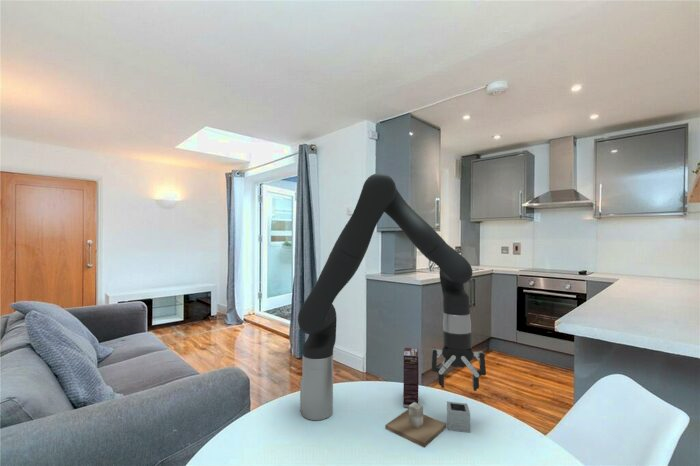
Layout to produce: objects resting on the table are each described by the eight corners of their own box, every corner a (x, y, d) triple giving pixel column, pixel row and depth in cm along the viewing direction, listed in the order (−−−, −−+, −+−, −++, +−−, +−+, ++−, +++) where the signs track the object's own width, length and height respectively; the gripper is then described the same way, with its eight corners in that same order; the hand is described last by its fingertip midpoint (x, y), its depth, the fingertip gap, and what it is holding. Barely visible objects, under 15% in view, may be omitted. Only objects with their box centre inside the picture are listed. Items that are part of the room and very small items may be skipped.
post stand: (385, 428, 87) (385, 406, 87) (409, 412, 96) (409, 391, 96) (424, 447, 79) (424, 422, 79) (446, 427, 87) (446, 405, 88)
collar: (448, 430, 86) (448, 411, 86) (446, 419, 92) (446, 401, 92) (470, 432, 85) (470, 413, 85) (467, 421, 90) (467, 403, 91)
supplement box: (419, 409, 97) (418, 356, 98) (403, 407, 98) (402, 355, 99) (418, 396, 106) (418, 348, 106) (404, 395, 107) (403, 347, 107)
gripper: (431, 331, 87) (432, 391, 86) (486, 334, 84) (488, 396, 83) (430, 325, 95) (431, 380, 94) (481, 327, 91) (483, 385, 90)
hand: (458, 388), depth 88 cm, fingers open, 8 cm apart
